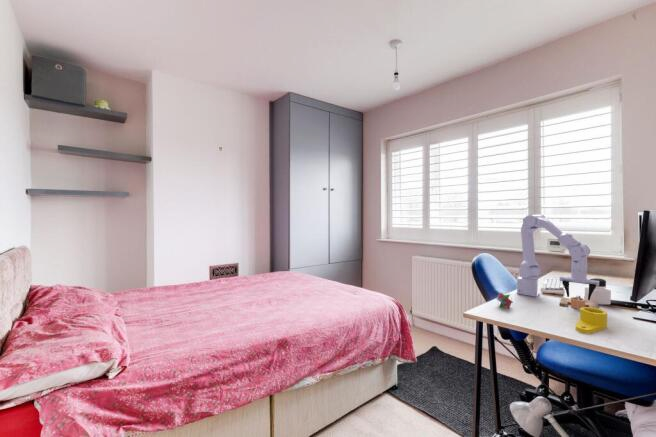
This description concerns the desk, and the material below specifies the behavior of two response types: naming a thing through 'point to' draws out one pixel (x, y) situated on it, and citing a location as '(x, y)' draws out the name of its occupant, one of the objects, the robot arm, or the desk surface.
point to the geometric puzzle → (504, 300)
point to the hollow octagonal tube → (577, 303)
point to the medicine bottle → (599, 293)
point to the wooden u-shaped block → (568, 301)
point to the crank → (591, 320)
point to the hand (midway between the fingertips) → (578, 298)
